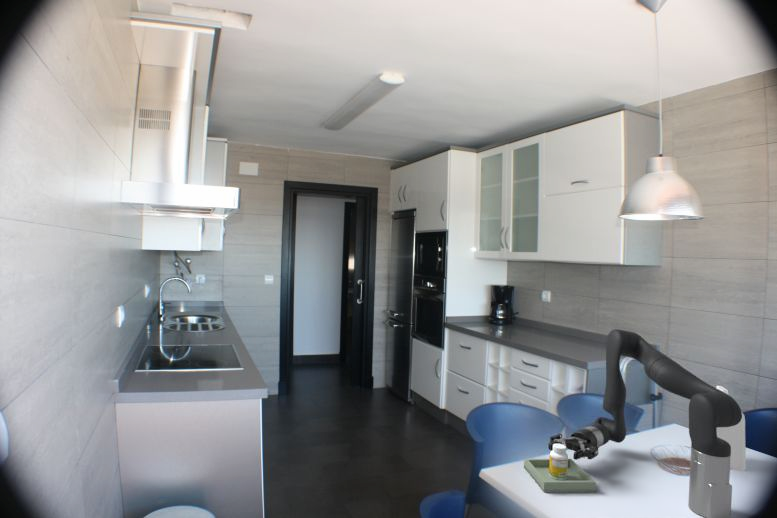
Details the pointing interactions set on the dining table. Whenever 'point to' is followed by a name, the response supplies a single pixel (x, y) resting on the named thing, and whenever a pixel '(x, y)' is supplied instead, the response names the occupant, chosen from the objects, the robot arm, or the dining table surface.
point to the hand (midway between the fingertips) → (561, 451)
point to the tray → (573, 482)
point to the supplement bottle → (558, 462)
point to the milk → (734, 440)
